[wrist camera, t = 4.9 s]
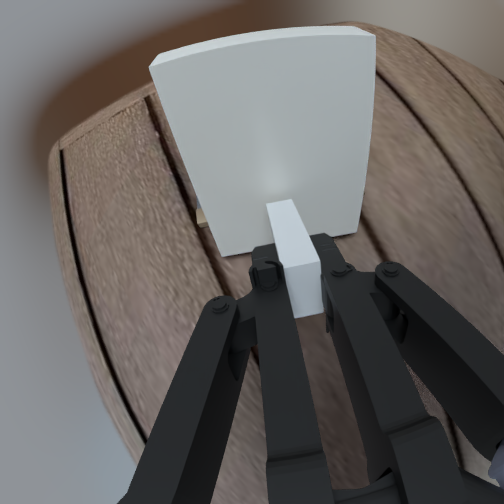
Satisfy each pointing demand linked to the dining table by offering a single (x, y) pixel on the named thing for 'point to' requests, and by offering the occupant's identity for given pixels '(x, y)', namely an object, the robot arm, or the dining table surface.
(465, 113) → the dining table surface
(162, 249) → the dining table surface
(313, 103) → the tile
